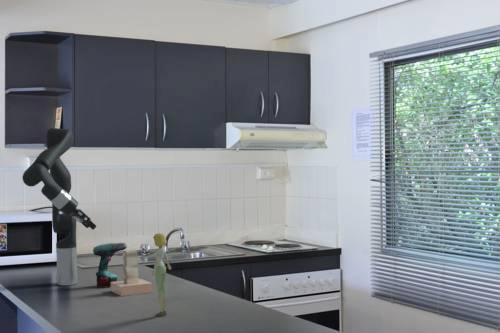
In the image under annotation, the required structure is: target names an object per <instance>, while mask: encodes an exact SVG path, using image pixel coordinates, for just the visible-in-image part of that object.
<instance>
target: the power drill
mask: <svg viewBox="0 0 500 333" xmlns="http://www.w3.org/2000/svg"><path fill="white" fill-rule="evenodd" d="M127 247H128V245H127V243H125V242H108V243H104V244H103V243H102V244H99V245H96V246H94V247H93V249H92V252H93V254H94V255H95V256H97V257H98V256H99V257H100V260H99V264H98V270H97V272H96V273H95V276H96V288H111V282H116V281H118V275H117V274H114V273H111V272H109V270H108V269H109V263H110V262H111V261H112V260H113V259H112V257H113V256H114V255H115V254H116V253H117V252H121V251H122V252H123V250H127Z"/></svg>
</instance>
